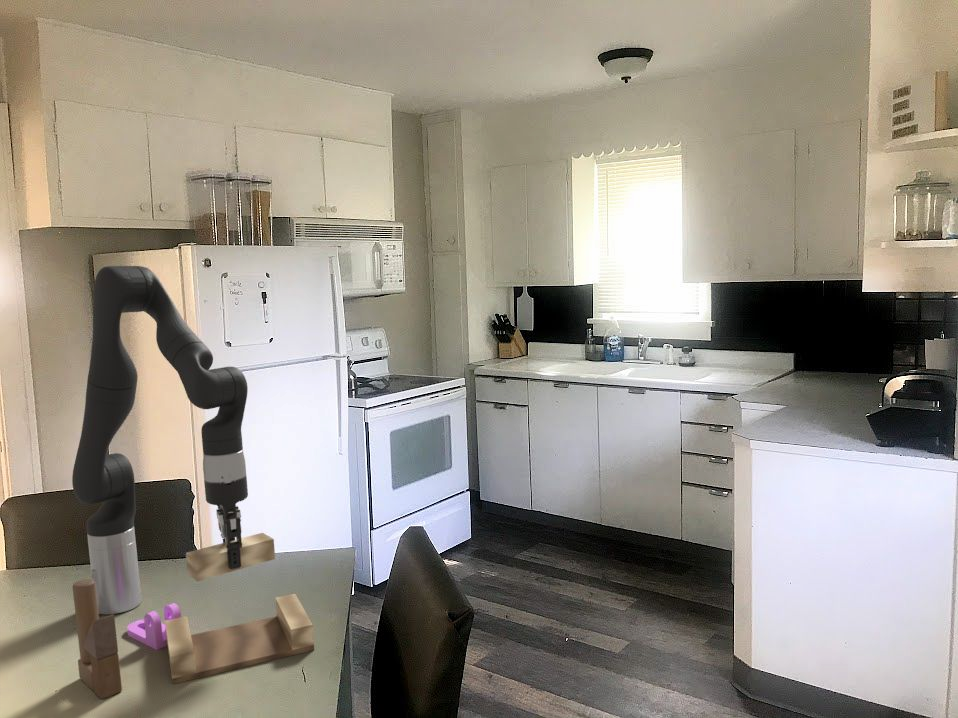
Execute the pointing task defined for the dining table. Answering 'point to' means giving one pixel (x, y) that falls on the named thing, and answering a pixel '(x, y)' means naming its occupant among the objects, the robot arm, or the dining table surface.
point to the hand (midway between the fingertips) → (232, 561)
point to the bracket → (153, 627)
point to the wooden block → (96, 642)
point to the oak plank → (216, 559)
